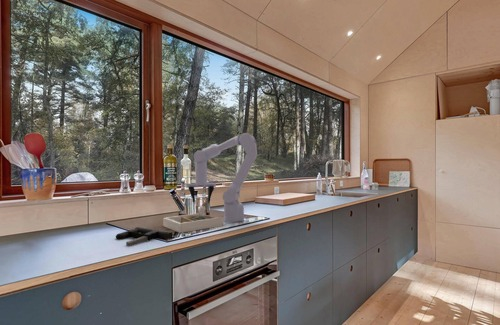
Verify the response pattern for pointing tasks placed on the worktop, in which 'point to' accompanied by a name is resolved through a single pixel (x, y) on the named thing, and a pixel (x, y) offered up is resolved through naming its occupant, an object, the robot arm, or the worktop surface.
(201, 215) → the handle
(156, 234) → the door handle
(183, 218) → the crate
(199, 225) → the tray
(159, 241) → the worktop surface
